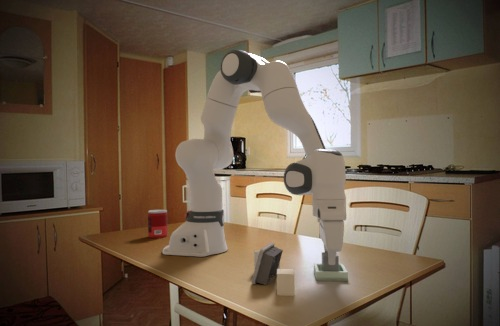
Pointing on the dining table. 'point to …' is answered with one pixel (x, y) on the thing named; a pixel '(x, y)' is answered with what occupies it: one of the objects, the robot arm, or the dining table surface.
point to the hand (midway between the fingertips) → (329, 260)
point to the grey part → (326, 266)
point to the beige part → (285, 282)
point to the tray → (330, 274)
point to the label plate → (257, 258)
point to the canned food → (157, 223)
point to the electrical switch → (267, 264)
